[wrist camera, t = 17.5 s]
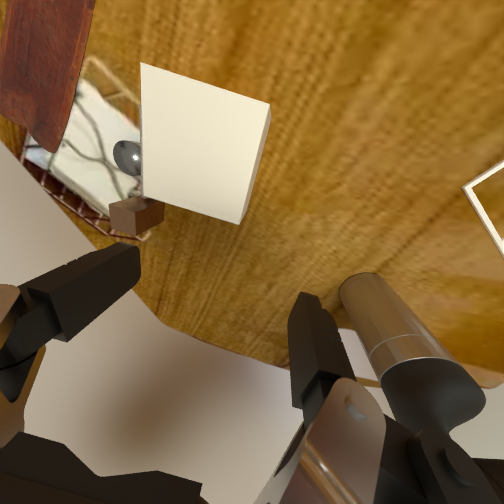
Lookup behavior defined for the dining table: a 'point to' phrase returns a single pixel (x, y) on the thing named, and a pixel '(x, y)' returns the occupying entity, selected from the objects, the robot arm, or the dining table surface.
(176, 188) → the plinth shelf
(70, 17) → the wooden tablet
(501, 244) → the photo frame
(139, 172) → the token
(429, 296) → the dining table surface
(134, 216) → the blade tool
